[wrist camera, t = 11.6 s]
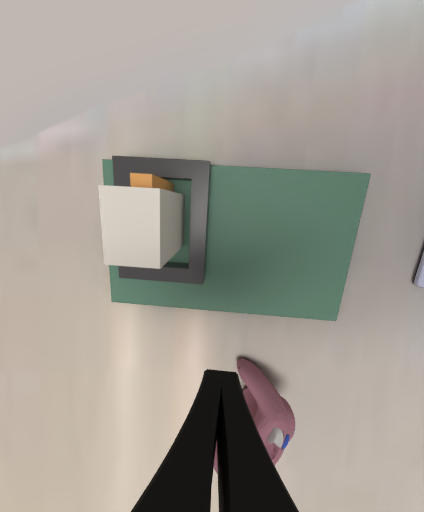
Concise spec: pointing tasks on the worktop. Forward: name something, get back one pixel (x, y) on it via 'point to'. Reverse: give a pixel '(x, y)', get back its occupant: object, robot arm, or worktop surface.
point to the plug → (141, 222)
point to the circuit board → (264, 243)
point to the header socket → (198, 217)
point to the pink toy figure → (266, 411)
